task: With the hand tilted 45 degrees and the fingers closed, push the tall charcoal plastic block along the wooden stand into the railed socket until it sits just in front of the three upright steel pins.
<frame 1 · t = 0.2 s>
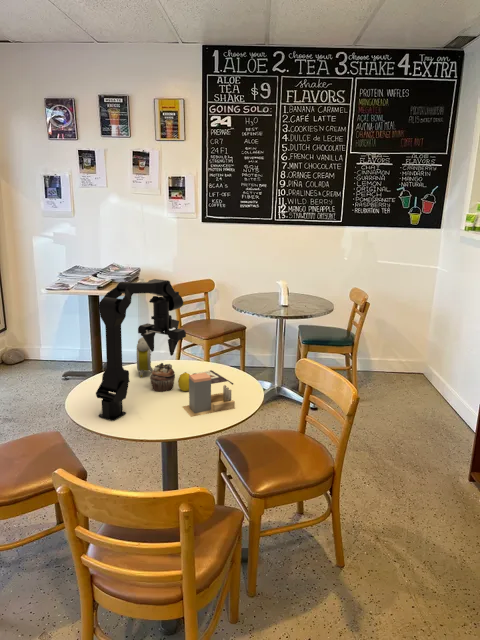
hand: (162, 353, 177), 14 cm above the table, tool pointing down, fingers open, 9 cm apart
plug block: (200, 408, 161), point 1 cm above the table, touching wooden stand
wooden stand: (208, 410, 163), on the table
alarm clock: (146, 373, 197), on the table
chocolate bar: (212, 381, 191), on the table
cupcake: (162, 388, 181), on the table
lemon: (185, 392, 178), on the table
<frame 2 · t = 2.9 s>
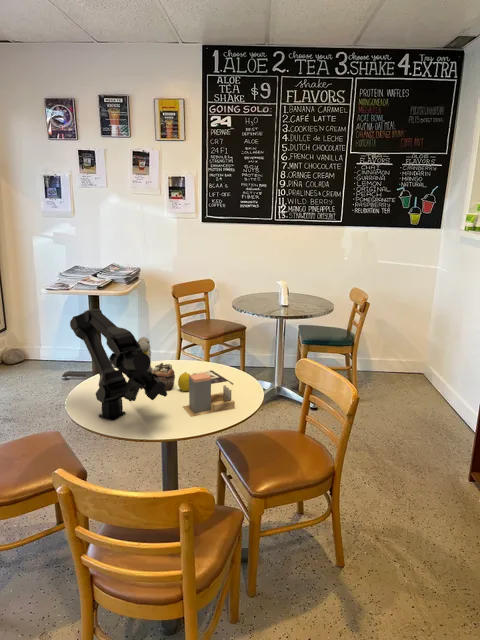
hand: (166, 395, 154), 8 cm above the table, tool tilted 45°, fingers closed
nothing on the table moved.
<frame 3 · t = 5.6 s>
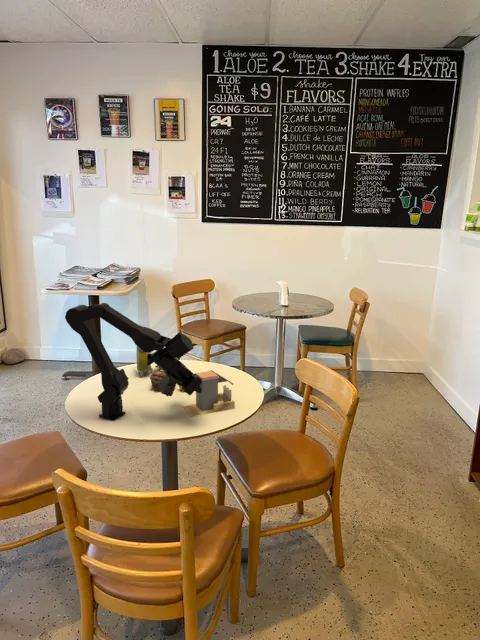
hand: (200, 392, 158), 8 cm above the table, tool tilted 45°, fingers closed
plug block: (206, 406, 163), point 1 cm above the table, touching gripper, wooden stand
everything else where it was.
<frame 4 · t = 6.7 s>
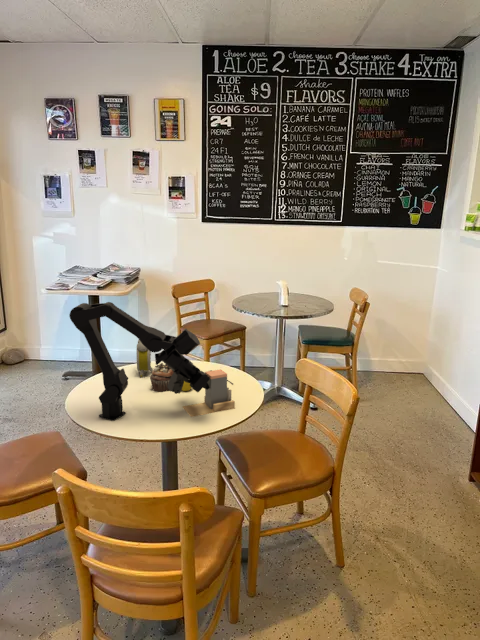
hand: (208, 388, 161), 8 cm above the table, tool tilted 45°, fingers closed
plug block: (216, 405, 164), point 1 cm above the table, touching gripper, wooden stand
everything else where it was.
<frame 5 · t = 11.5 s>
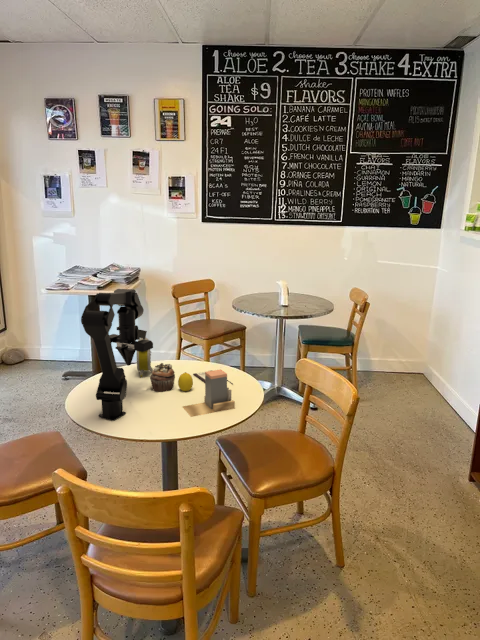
hand: (128, 365, 171), 12 cm above the table, tool pointing down, fingers closed
plug block: (216, 405, 164), point 1 cm above the table, touching wooden stand
everything else where it was.
at the end: plug block 0.8 cm from the target spot, point 1.0 cm above the table; plug block tilted 0° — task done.
